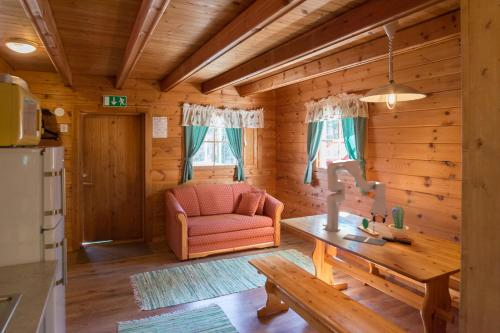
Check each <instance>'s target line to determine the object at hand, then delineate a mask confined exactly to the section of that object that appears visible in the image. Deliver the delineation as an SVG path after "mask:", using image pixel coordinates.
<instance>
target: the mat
mask: <svg viewBox="0 0 500 333" xmlns="http://www.w3.org/2000/svg"><path fill="white" fill-rule="evenodd" d="M342 239H343V240H348V241H354V242H359V243H364V244H369V245H370V244H371V245H376V246H382V247H383V246H384V245H385V244H386V242H387V240H386V239H379V238H375V237H374V238H372V237H369V236H368V237H367V236H361V235H354V234H349V233H348V234H346V235H345V236H343V237H342Z"/></svg>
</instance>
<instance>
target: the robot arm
mask: <svg viewBox="0 0 500 333" xmlns="http://www.w3.org/2000/svg"><path fill="white" fill-rule="evenodd" d="M341 171H342V172H343V171H347V173H349V174H350V175H351V176H352V177H353V179H354V181H355V184H356V186H358V188H359V189H361V190H362V191H364V192H366V193H367V192H369V193H370V192H373V191H374V196H372V199H373V200H372V206H371V207H372V208H371V209H369V210H368V212H369V214H370V215H372V218H373V221H374V222H373V223H376V222H375V217H376V216H377V215H382V217H383V222H382V224H385V223H386V218H387V217H388V216H389V215H391V211H390V210H388V207H387V204H388V203H387V200H386V188H387V187H386V183H385V182H378V181H375V180H371V181H370V180H369V181H366V180H365V178H363V176H362V175H363V173H364V172H363V171H364V170H363V169H362V168H360V162H359V161H358V160H356V159H346V160H336V161H335V160H334V161H331V162H329V163H328V165H327V167H326V174H327V190H328V191H329V192H331V193H330V194H328V195H327V196H326V200H325V201H326V207H327V208H326V211H327V213H326V223H322V226H323V227H324V230H326V231H327V232H328V231H329V232H340V231H341V228H340V227H339V213H340V212H339V206H338V205H339V204H343V203H344V202H345V200H346V187H345V186H346V185H345V183H344V182H343V181H342V180H340V179H339V176H338V175H339V174H338V173H337V172H341ZM373 213H374V214H373Z"/></svg>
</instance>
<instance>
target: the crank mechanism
mask: <svg viewBox="0 0 500 333" xmlns="http://www.w3.org/2000/svg"><path fill="white" fill-rule="evenodd" d="M373 214H374V213H373ZM371 222H373V223H377V222H376V221H375V222H374V221H373V217H372V218H371V220H369V221H368V219H367V217H363V218H362V222H361V224H362V225H359V226H356V227H357V229H358V230H360V231H362V232H364V233H366V234H368V235H370V236H372V237H377V236H380V233H379V232H377V231H375V227H373V229H370V228H369V223H371Z"/></svg>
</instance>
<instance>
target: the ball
mask: <svg viewBox="0 0 500 333" xmlns="http://www.w3.org/2000/svg"><path fill="white" fill-rule="evenodd" d="M375 216H376V217H375V221H376V222H375V223H379V224H381V223H383V215H382V214H376V215H375Z"/></svg>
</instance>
